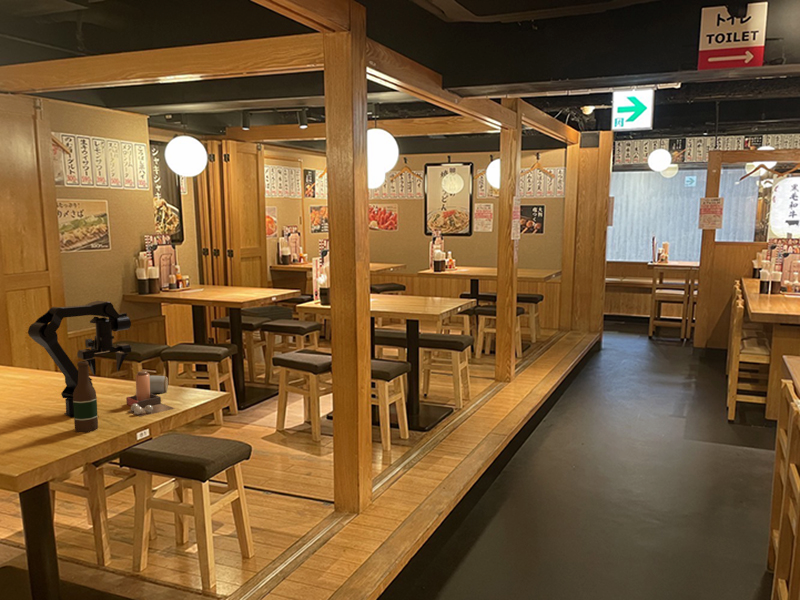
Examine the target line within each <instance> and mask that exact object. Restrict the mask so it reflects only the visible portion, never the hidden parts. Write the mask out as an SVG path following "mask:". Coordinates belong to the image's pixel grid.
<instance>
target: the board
mask: <svg viewBox="0 0 800 600" xmlns="http://www.w3.org/2000/svg"><path fill="white" fill-rule="evenodd" d="M152 407H153V411H152V412H151V413H146V412H145V410H144V409H145V407H144V408H142V409H143V412H142V413H141V414H139V415H137V414H135V413H134V411H132V410H131V409H130V410H127V411H126V412H127V413H130V414H131V415H134V416H137V417H139V418H142V417H145V416H149V415H154V414H157V413H158V414H159V413H162V412H166V411H170V410H174V409H176V408H175V407H172V406H170V405H166V404H165V403H163V402H161V404H157V405H153V406H152Z"/></svg>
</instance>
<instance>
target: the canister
mask: <svg viewBox="0 0 800 600" xmlns="http://www.w3.org/2000/svg"><path fill="white" fill-rule="evenodd" d="M150 376H151V375H150V373H149V372H148V371H147V370H140V371H137V373H136V374H135V396H136V398H137V401H142V400H147V399H150Z"/></svg>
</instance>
